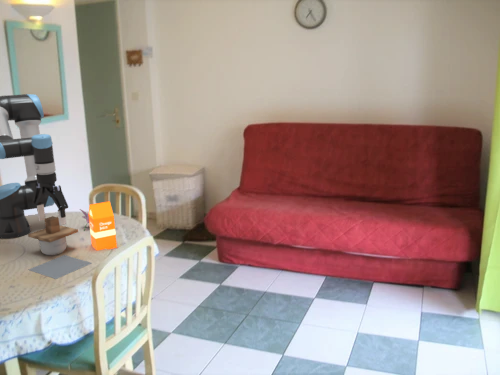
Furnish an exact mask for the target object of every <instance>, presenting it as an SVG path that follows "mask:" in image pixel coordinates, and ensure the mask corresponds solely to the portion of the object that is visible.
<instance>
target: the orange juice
mask: <svg viewBox="0 0 500 375" xmlns="http://www.w3.org/2000/svg"><path fill="white" fill-rule="evenodd" d="M88 213H89V223H88V224H89V232H90V233H89V234H90V242H91V246H92V248H94V250H95V251H101V250H112V249H115V248H116V249H117V247H118V245H117V235H116V234H117V232H116V224H115V223H116V222H115V215H114V212H113V208H112V205H111V201H109V200H108V201H103V202H97V203H91V204H89V208H88Z"/></svg>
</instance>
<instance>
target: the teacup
mask: <svg viewBox="0 0 500 375" xmlns="http://www.w3.org/2000/svg"><path fill="white" fill-rule="evenodd" d="M66 237H67V236H66ZM66 237H64V238H61V239H58V240H56V241H53V242H46V241H42V240H38V239H37V241H38V244H39V249H40V251H41V252H42V253H41V254H44V255H46V256H57V255H60V254H63V253H64V251H65V250H66V249H67V246H68V245H67V238H66Z"/></svg>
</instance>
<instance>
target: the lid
mask: <svg viewBox="0 0 500 375" xmlns="http://www.w3.org/2000/svg"><path fill="white" fill-rule="evenodd" d="M44 226H45V228H42V229H39V230H36V231H33V232H31V233H30V232H29V233H28V234H27V236H28V238H31V239H36V240H37V241H38V240H42V241H46V242H53V241H56V240H58V239H61V238H64V237H69V236H72V235H74V234H76V233H79V229H78V228H73V227H70V226H65V225H62V226H60V225H59V217H58V216H53V215H52V216H48V217H45V219H44Z"/></svg>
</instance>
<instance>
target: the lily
mask: <svg viewBox="0 0 500 375" xmlns="http://www.w3.org/2000/svg"><path fill="white" fill-rule="evenodd" d="M79 210H80V211H81V212H82V213H83V215H82V218H83V219H85V220H86V224H85V225H84V229H83V232H85V230H86V228H87V225H88V224H89V212H86V211H84V210H83V209H81V208H80V209H79Z"/></svg>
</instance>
